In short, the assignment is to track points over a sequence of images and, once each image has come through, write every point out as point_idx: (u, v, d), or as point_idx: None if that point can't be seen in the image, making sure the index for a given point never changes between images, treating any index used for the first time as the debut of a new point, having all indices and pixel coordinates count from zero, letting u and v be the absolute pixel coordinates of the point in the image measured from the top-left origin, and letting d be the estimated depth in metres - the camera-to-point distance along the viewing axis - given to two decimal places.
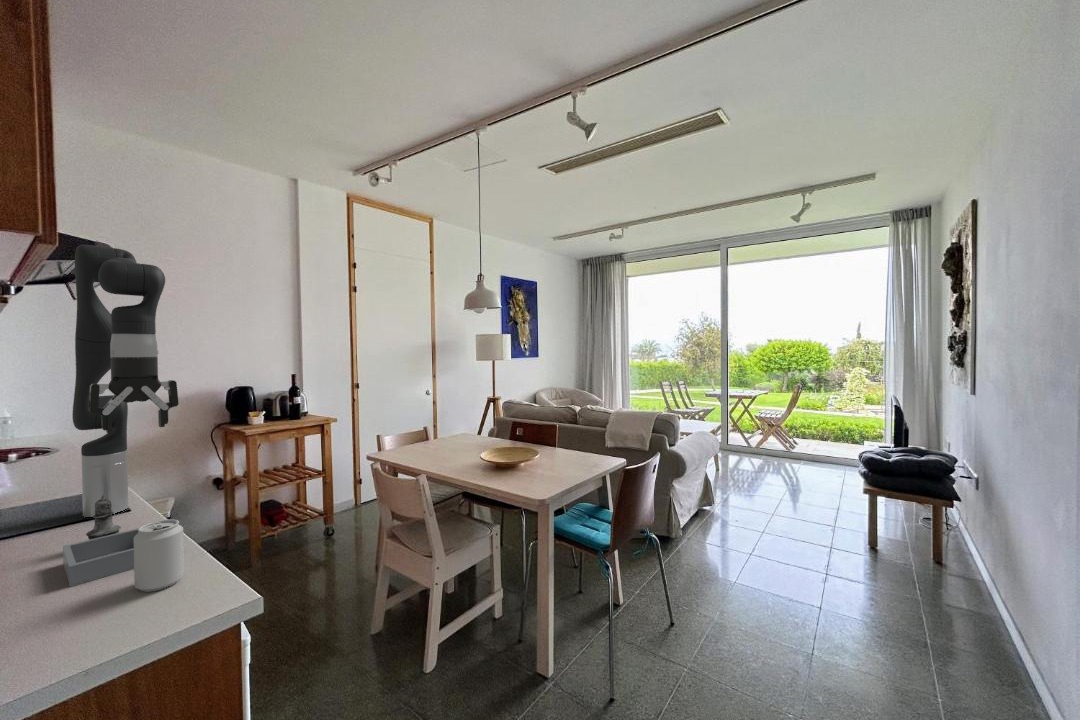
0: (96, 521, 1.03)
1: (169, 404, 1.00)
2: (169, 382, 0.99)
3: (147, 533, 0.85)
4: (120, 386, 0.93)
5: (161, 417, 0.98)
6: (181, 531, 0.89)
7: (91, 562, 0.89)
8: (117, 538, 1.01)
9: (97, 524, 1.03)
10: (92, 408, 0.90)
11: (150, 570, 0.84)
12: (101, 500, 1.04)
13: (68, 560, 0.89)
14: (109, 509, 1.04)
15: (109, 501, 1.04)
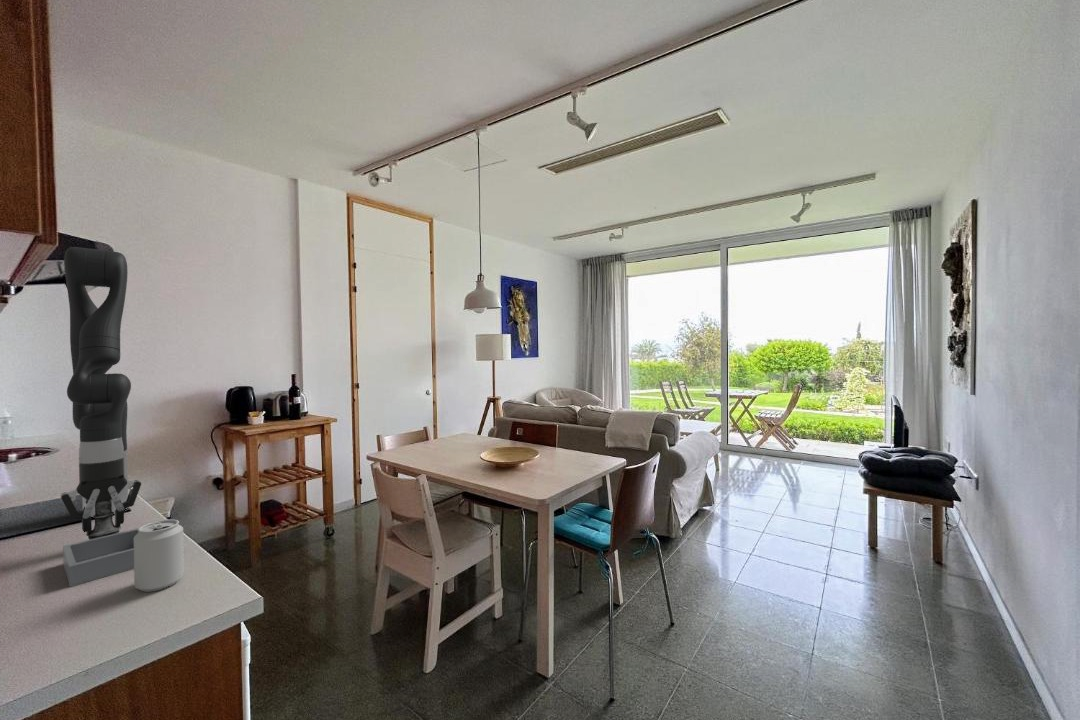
0: (96, 521, 1.03)
1: (125, 505, 1.07)
2: (135, 483, 1.08)
3: (147, 533, 0.85)
4: (87, 488, 1.01)
5: (117, 518, 1.05)
6: (181, 531, 0.89)
7: (91, 562, 0.89)
8: (117, 538, 1.01)
9: (97, 524, 1.03)
10: (72, 514, 0.99)
11: (150, 570, 0.84)
12: None
13: (68, 560, 0.89)
14: (109, 509, 1.04)
15: (109, 501, 1.04)
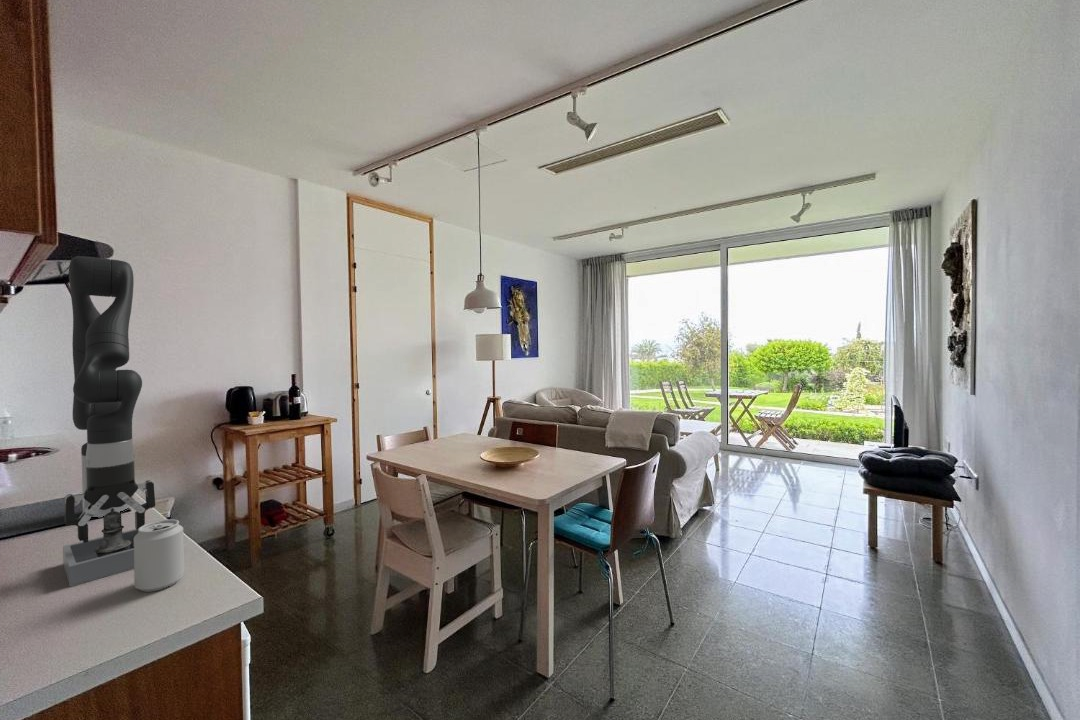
0: (104, 536, 0.95)
1: (146, 506, 1.00)
2: (146, 484, 1.00)
3: (147, 533, 0.85)
4: (96, 495, 0.93)
5: (137, 520, 0.99)
6: (181, 531, 0.89)
7: (91, 562, 0.89)
8: None
9: (106, 540, 0.95)
10: (67, 521, 0.90)
11: (150, 570, 0.84)
12: (110, 513, 0.96)
13: (68, 560, 0.89)
14: (119, 523, 0.96)
15: (119, 514, 0.96)
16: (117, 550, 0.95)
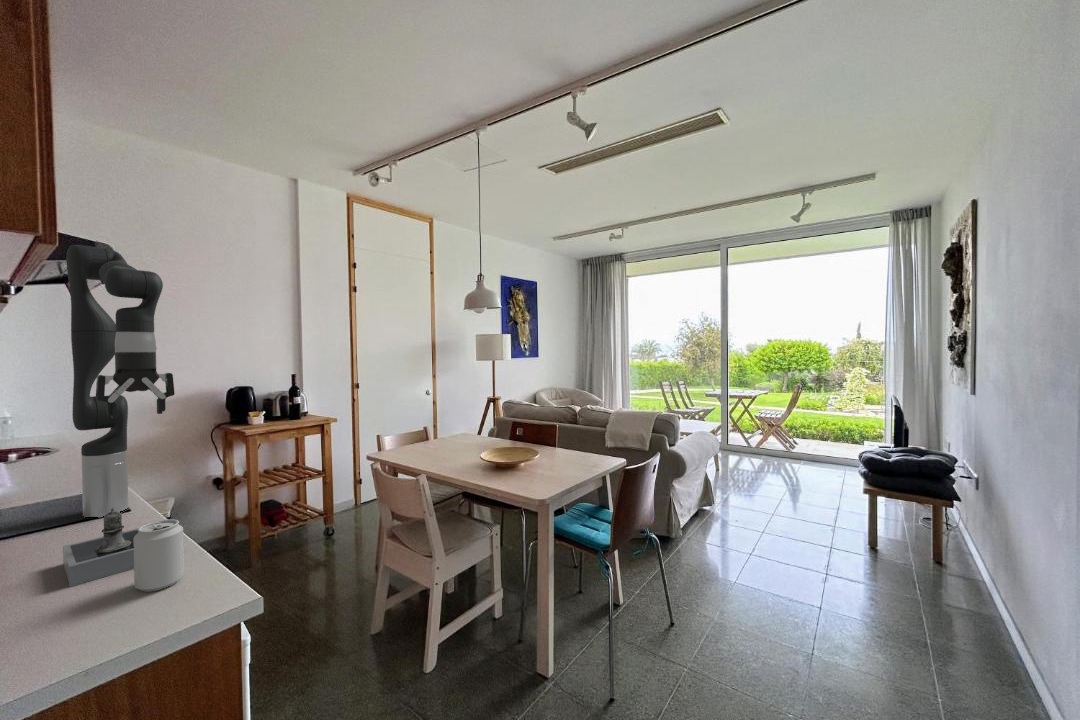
0: (105, 536, 0.95)
1: (166, 394, 1.13)
2: (166, 374, 1.13)
3: (147, 533, 0.85)
4: (123, 377, 1.06)
5: (159, 405, 1.12)
6: (181, 531, 0.89)
7: (91, 562, 0.89)
8: None
9: (106, 540, 0.95)
10: (99, 396, 1.03)
11: (150, 570, 0.84)
12: (110, 513, 0.96)
13: (68, 560, 0.89)
14: (119, 523, 0.96)
15: (119, 514, 0.96)
16: (117, 550, 0.95)
